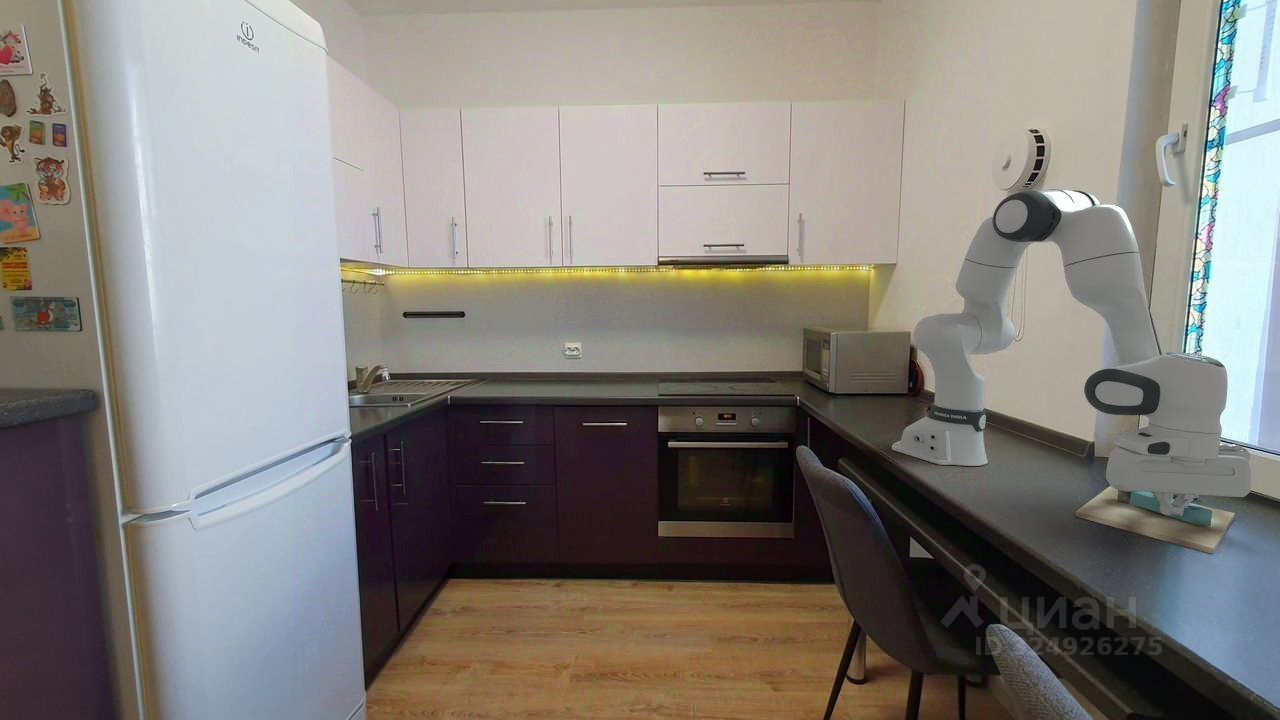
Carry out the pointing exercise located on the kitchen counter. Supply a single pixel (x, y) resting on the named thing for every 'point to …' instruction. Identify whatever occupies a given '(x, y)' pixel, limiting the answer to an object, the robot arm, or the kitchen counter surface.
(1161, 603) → the kitchen counter surface
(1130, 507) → the base board
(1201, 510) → the lever with ball knob
